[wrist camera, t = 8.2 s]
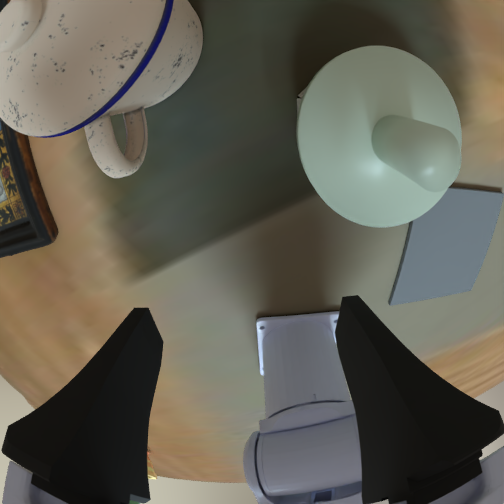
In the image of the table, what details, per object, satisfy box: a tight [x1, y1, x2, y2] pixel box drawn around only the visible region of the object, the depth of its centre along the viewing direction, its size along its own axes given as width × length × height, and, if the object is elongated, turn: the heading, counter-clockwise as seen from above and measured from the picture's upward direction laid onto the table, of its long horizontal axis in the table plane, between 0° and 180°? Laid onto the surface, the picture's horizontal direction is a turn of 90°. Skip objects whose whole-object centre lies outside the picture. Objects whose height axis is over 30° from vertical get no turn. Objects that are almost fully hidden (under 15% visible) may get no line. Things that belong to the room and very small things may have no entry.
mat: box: [389, 187, 504, 305], centre depth 20 cm, size 12×12×1 cm
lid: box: [296, 46, 462, 228], centre depth 10 cm, size 10×10×5 cm
